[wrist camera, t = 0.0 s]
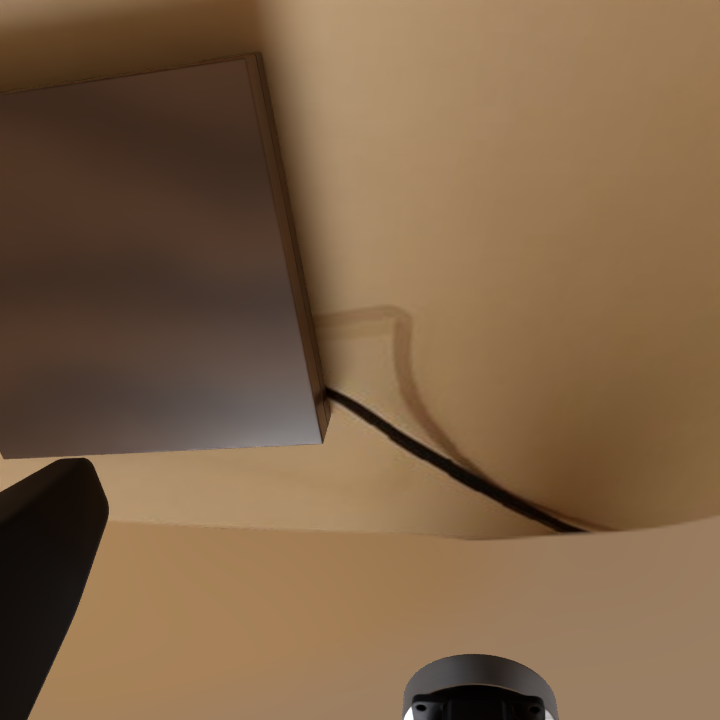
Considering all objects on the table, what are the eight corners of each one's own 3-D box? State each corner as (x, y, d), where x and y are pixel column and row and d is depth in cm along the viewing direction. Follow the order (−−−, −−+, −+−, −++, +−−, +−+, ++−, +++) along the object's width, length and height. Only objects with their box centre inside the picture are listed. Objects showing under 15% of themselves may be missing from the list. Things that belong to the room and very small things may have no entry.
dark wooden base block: (331, 416, 28) (323, 444, 26) (28, 433, 31) (3, 459, 29) (261, 51, 22) (245, 57, 20) (-116, 108, 24) (-160, 117, 22)
